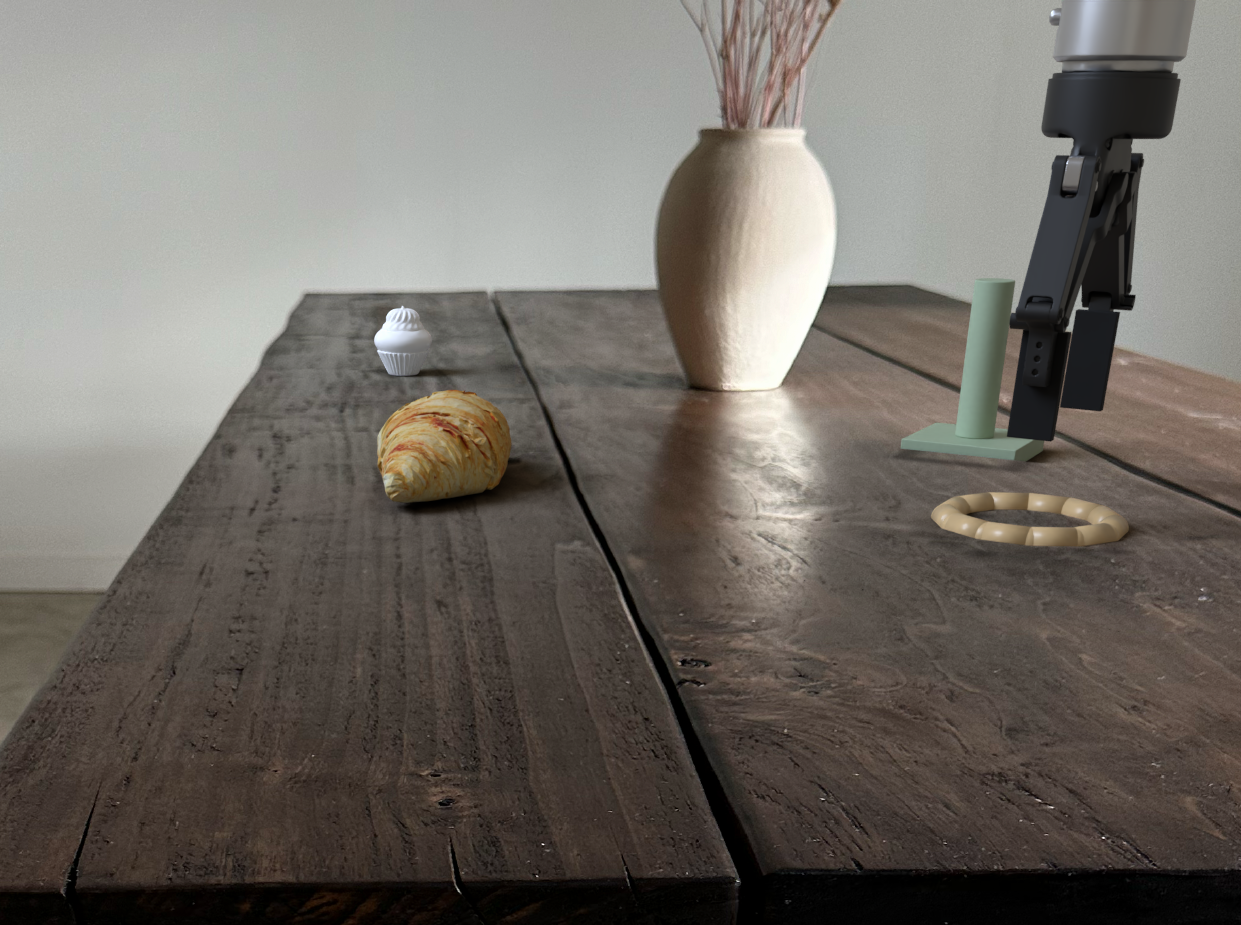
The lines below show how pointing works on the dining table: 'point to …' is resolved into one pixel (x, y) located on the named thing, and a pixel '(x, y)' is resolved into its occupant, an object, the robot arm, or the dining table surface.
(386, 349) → the muffin
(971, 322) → the post
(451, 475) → the croissant
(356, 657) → the dining table surface
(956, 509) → the ring
